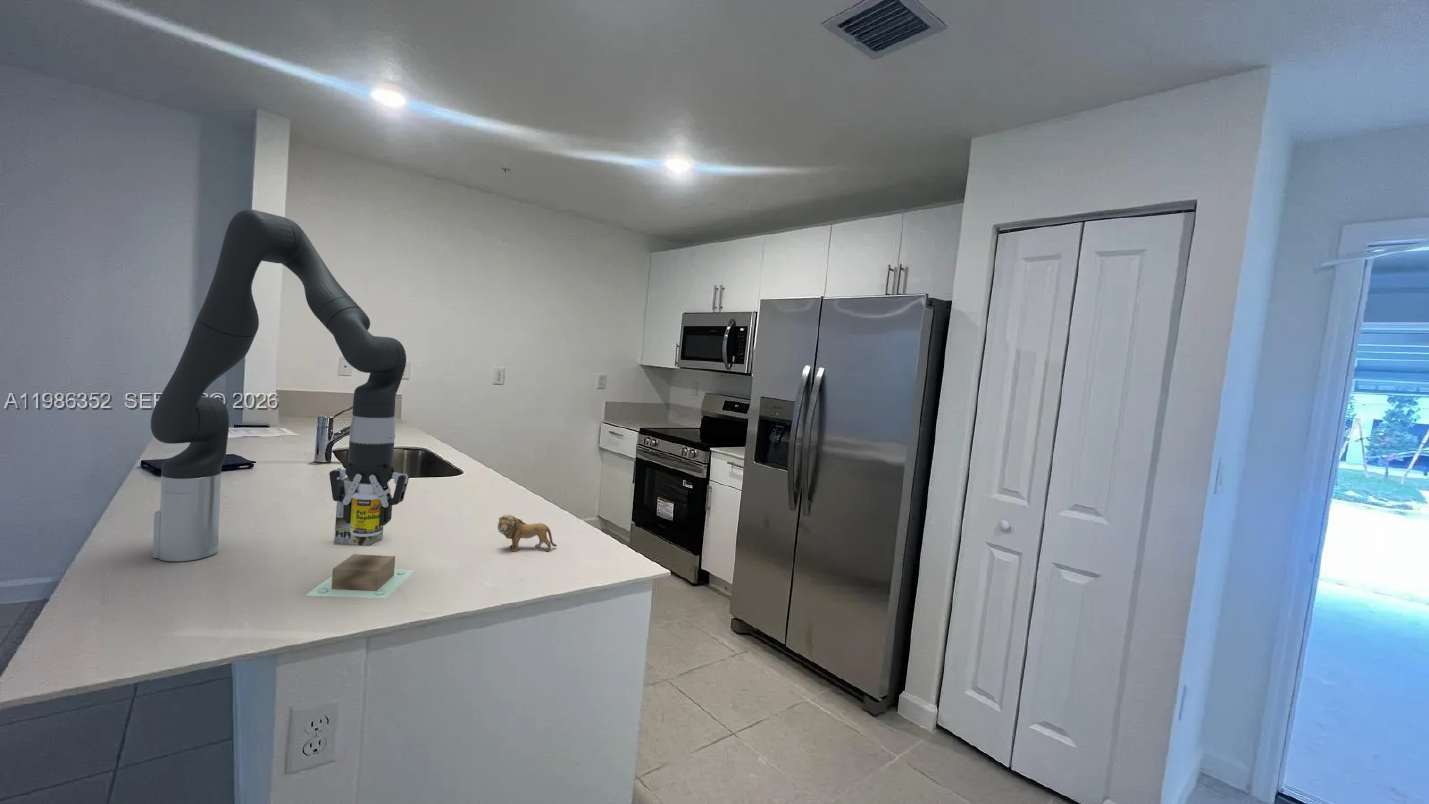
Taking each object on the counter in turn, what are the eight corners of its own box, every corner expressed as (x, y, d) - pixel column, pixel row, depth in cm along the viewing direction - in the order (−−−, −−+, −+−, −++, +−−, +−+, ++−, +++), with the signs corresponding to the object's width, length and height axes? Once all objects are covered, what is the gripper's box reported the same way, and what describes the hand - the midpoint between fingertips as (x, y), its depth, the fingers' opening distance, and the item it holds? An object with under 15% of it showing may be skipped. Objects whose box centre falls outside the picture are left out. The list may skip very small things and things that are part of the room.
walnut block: (331, 589, 108) (332, 568, 107) (352, 573, 115) (353, 554, 115) (376, 591, 109) (377, 570, 108) (394, 575, 117) (395, 556, 116)
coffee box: (360, 550, 130) (364, 482, 129) (332, 547, 131) (336, 479, 129) (384, 538, 140) (388, 474, 138) (358, 535, 140) (362, 471, 139)
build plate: (304, 601, 104) (305, 593, 104) (343, 572, 118) (343, 565, 118) (386, 604, 106) (386, 596, 106) (414, 575, 120) (415, 568, 120)
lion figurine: (496, 554, 137) (499, 518, 136) (494, 547, 142) (497, 512, 141) (558, 551, 143) (561, 516, 143) (554, 544, 148) (557, 510, 147)
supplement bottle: (349, 538, 108) (352, 486, 107) (349, 530, 112) (352, 479, 111) (383, 536, 111) (386, 485, 110) (382, 528, 115) (385, 478, 115)
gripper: (321, 438, 105) (316, 527, 107) (403, 444, 107) (398, 531, 109) (342, 433, 113) (337, 516, 114) (418, 439, 115) (413, 520, 116)
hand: (367, 523), depth 111 cm, fingers closed on supplement bottle, 5 cm apart
